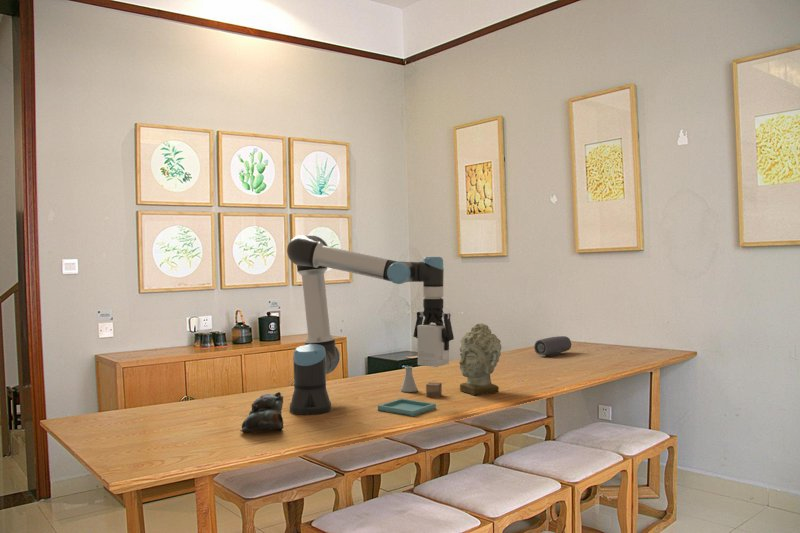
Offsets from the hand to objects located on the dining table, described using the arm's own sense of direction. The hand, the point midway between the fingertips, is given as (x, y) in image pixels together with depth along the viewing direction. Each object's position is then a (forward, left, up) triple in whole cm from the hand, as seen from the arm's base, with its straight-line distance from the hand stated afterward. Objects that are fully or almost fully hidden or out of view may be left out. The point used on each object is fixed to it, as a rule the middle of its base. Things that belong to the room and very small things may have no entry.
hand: (433, 357), depth 243 cm
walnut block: (+14, +9, -18) cm, 24 cm away
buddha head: (+31, -2, -18) cm, 36 cm away
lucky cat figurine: (-60, +26, -18) cm, 68 cm away
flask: (+16, +23, -18) cm, 34 cm away
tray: (-11, +4, -18) cm, 21 cm away
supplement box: (0, 0, -3) cm, 3 cm away
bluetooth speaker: (+136, +14, -18) cm, 138 cm away
